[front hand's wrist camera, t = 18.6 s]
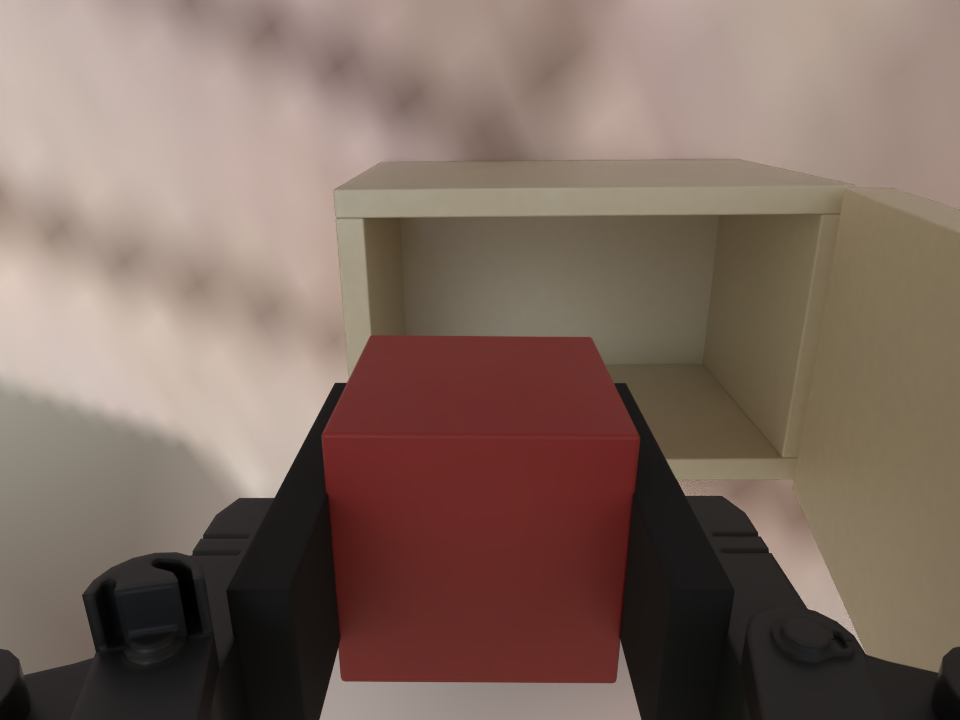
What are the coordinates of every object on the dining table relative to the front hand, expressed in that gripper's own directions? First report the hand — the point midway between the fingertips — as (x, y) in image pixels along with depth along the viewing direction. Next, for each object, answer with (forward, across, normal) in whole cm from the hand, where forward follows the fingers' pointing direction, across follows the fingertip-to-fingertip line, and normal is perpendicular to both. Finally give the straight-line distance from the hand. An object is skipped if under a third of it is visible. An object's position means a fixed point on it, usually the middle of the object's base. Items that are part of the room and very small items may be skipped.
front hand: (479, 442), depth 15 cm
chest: (+17, +3, 0) cm, 17 cm away
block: (0, 0, 0) cm, 0 cm away
